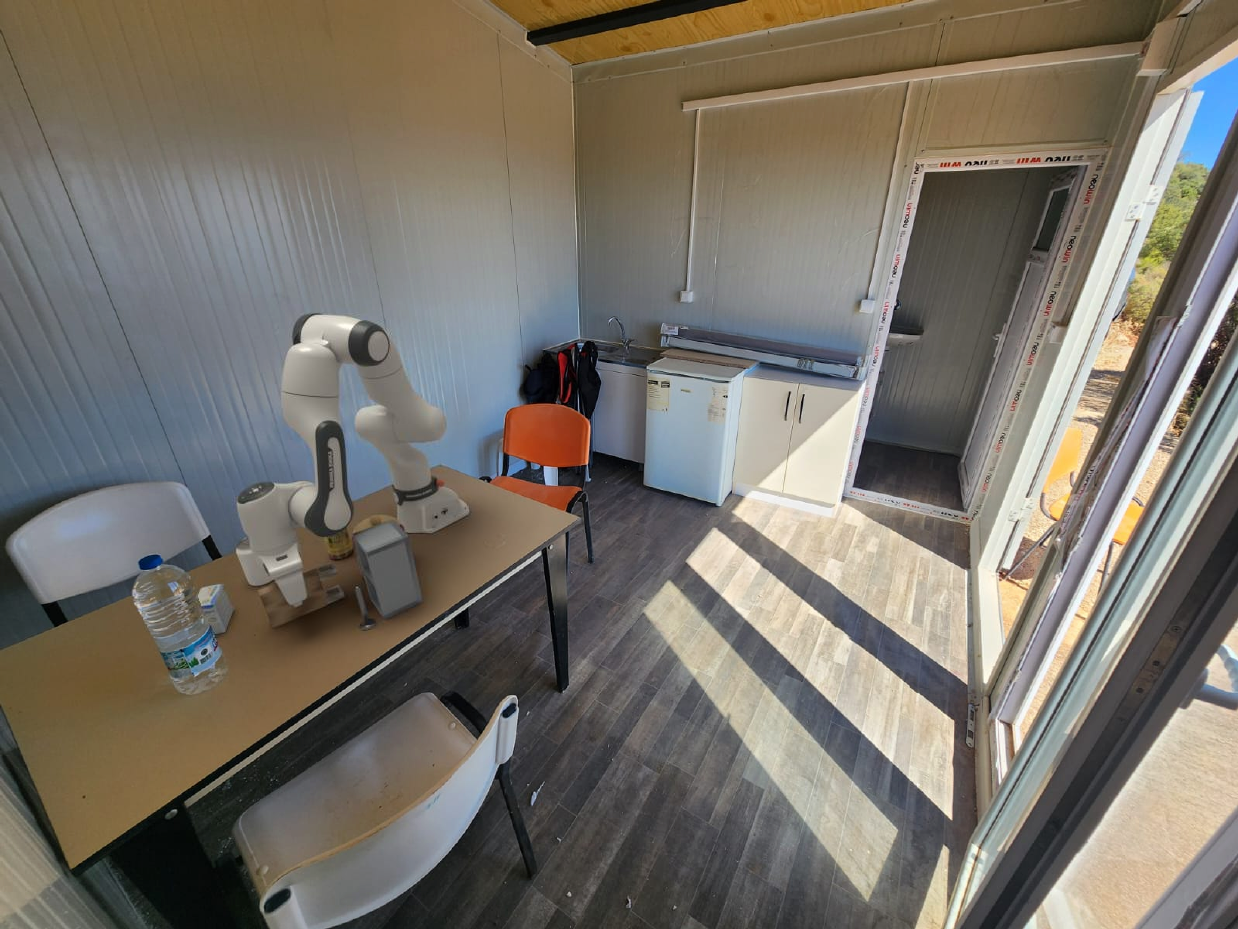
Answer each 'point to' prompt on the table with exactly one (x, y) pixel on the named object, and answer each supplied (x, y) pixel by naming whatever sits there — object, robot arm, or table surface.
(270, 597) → the door
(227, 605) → the medicine box
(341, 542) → the sauce bottle
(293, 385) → the robot arm
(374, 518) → the canister
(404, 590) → the cabinet
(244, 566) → the can
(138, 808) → the table surface
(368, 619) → the hinge post
